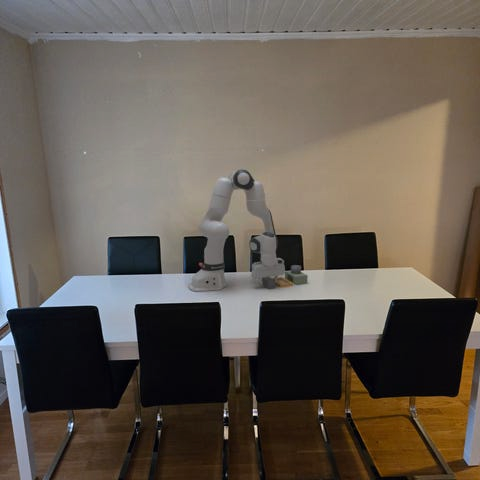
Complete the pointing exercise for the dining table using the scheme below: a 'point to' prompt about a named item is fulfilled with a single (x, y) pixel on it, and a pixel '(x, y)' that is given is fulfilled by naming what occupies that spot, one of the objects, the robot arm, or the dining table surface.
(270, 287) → the dark grey block
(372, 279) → the dining table surface
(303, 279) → the grey and tan shapes
